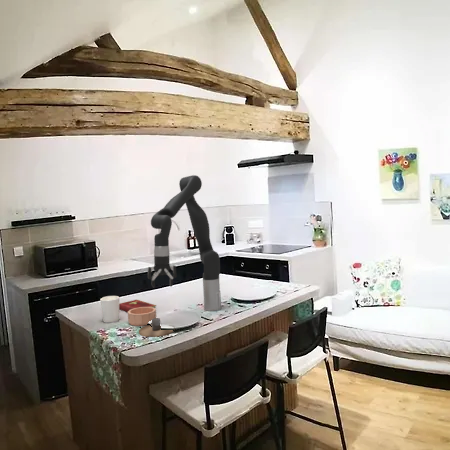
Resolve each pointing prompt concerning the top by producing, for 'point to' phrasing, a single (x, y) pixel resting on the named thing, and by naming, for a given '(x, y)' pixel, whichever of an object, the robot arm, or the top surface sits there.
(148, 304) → the hardcover book
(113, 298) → the candle holder
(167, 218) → the robot arm
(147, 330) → the lid
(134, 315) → the bowl
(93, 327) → the top surface
